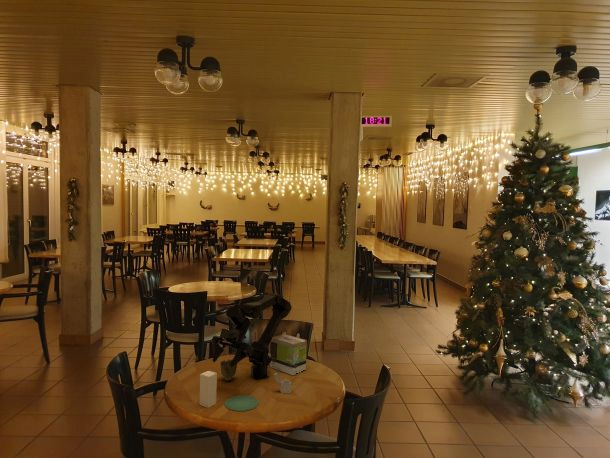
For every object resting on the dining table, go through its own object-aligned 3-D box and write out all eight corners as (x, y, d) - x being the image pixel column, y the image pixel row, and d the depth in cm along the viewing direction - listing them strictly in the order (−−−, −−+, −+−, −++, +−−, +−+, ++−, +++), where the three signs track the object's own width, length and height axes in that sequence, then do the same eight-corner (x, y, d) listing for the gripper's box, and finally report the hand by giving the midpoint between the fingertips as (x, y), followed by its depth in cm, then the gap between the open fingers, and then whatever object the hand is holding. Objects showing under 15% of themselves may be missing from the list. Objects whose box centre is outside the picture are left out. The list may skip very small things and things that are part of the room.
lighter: (290, 391, 181) (291, 372, 180) (290, 393, 179) (291, 374, 179) (273, 390, 181) (274, 371, 181) (273, 392, 179) (274, 373, 179)
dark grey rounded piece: (222, 384, 185) (223, 366, 185) (217, 378, 192) (218, 360, 192) (239, 381, 189) (239, 363, 188) (233, 375, 195) (234, 358, 195)
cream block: (207, 400, 170) (208, 370, 169) (216, 403, 167) (216, 373, 167) (199, 404, 166) (200, 374, 165) (208, 407, 163) (208, 376, 163)
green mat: (250, 394, 177) (251, 393, 177) (263, 407, 166) (263, 406, 166) (220, 399, 170) (220, 398, 170) (231, 414, 159) (231, 413, 159)
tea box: (306, 370, 205) (307, 339, 204) (292, 376, 197) (293, 344, 197) (283, 362, 215) (284, 332, 214) (269, 367, 207) (270, 337, 206)
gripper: (214, 316, 181) (194, 349, 173) (249, 324, 172) (230, 359, 163) (226, 330, 188) (208, 362, 180) (260, 338, 179) (243, 373, 170)
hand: (222, 364), depth 173 cm, fingers open, 9 cm apart
